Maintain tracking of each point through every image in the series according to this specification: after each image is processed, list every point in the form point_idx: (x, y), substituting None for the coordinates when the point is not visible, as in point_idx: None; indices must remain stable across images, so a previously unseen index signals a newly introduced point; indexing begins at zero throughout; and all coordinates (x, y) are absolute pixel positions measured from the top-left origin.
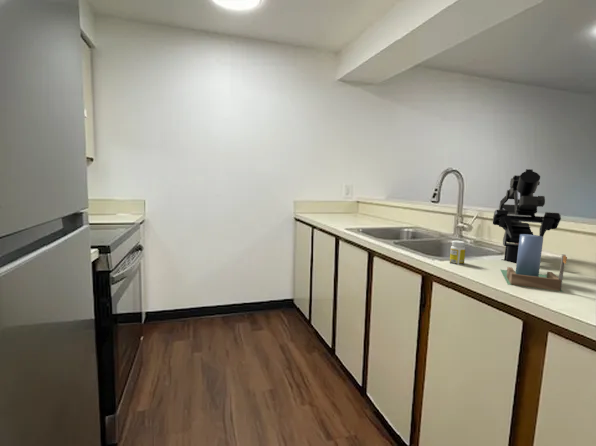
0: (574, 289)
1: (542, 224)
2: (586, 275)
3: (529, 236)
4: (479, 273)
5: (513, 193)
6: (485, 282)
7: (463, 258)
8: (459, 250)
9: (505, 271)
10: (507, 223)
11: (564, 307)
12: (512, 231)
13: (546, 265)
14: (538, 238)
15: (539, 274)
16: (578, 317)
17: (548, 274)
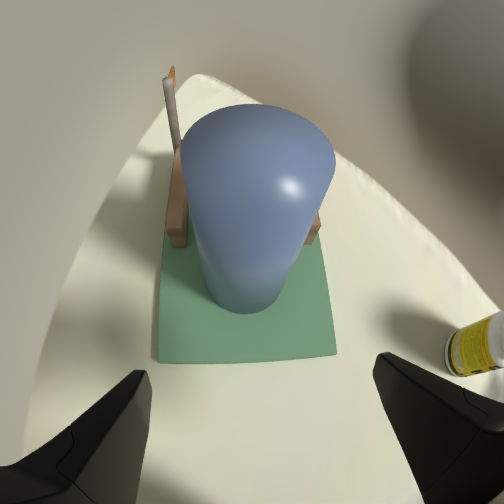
0: (123, 224)
1: (65, 488)
2: (31, 449)
3: (275, 116)
4: (388, 269)
5: None
6: (352, 177)
7: (463, 338)
8: (493, 314)
9: (317, 328)
10: (499, 407)
11: (206, 99)
12: (408, 378)
13: None
14: (224, 113)
15: (186, 354)
16: (201, 78)
17: (183, 211)
